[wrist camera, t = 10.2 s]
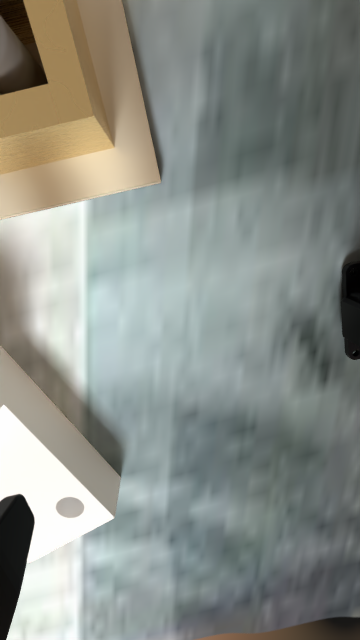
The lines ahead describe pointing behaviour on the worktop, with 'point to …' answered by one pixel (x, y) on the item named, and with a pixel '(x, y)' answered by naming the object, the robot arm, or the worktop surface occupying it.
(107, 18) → the post board
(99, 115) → the brass collar
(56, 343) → the worktop surface
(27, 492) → the bracket
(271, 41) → the worktop surface
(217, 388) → the worktop surface
